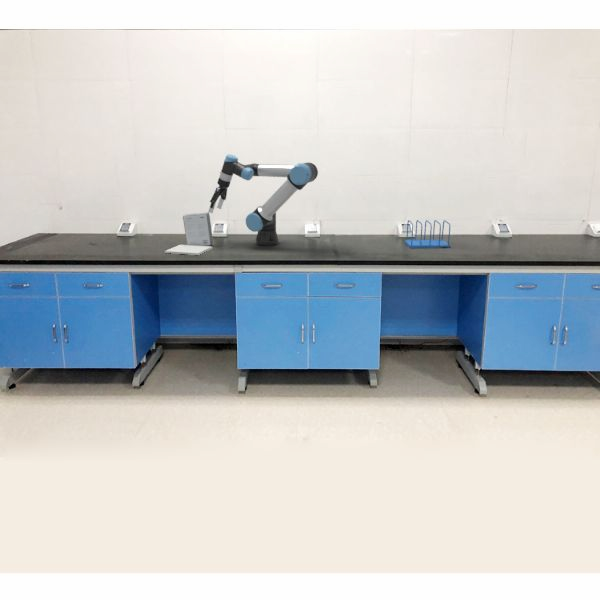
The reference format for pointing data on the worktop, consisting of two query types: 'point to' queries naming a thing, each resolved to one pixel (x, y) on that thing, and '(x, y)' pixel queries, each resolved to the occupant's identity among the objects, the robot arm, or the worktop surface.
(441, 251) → the worktop surface
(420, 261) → the worktop surface
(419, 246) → the file sorter
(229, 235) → the worktop surface
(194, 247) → the white flat square panel
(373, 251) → the worktop surface
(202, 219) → the hard drive box
